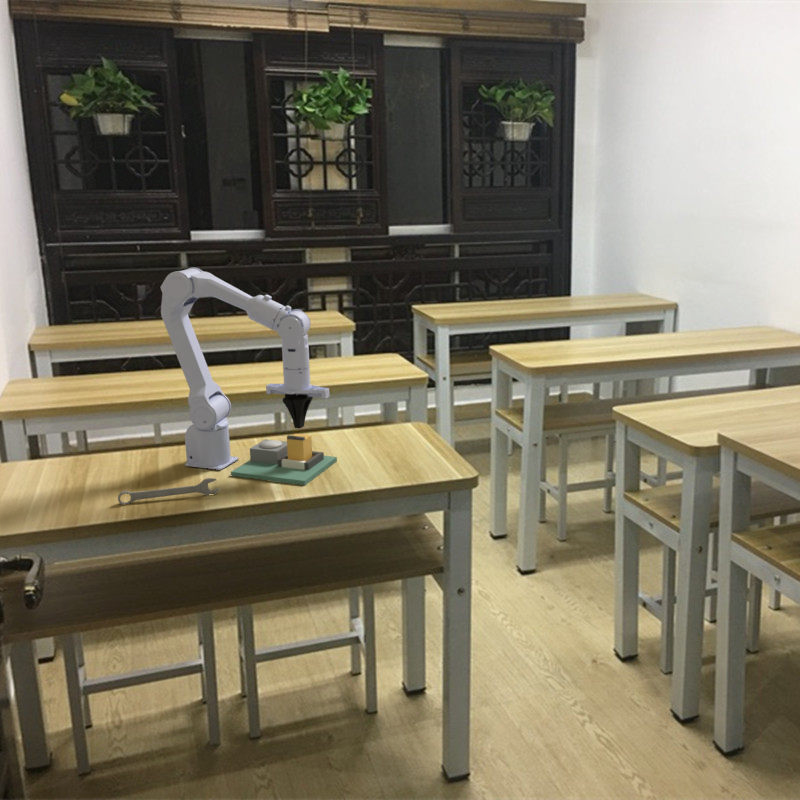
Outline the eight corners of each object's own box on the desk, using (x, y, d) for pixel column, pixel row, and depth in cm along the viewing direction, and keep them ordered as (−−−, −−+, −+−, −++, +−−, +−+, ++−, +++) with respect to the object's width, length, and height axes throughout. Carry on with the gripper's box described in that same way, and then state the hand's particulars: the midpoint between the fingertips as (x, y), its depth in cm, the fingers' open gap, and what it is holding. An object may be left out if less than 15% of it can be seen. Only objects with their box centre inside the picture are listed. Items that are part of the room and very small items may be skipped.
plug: (288, 464, 176) (286, 436, 174) (296, 459, 180) (295, 431, 178) (304, 466, 175) (302, 438, 173) (312, 460, 178) (311, 432, 177)
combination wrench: (116, 491, 157) (219, 478, 161) (116, 488, 158) (219, 476, 163) (118, 508, 158) (221, 495, 162) (119, 506, 159) (220, 493, 164)
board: (231, 476, 173) (229, 456, 172) (267, 453, 187) (266, 435, 186) (305, 485, 167) (304, 465, 166) (336, 461, 181) (336, 442, 180)
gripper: (257, 368, 171) (261, 429, 174) (318, 373, 166) (321, 435, 169) (273, 362, 177) (277, 420, 181) (332, 366, 172) (334, 426, 176)
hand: (299, 427), depth 176 cm, fingers closed
